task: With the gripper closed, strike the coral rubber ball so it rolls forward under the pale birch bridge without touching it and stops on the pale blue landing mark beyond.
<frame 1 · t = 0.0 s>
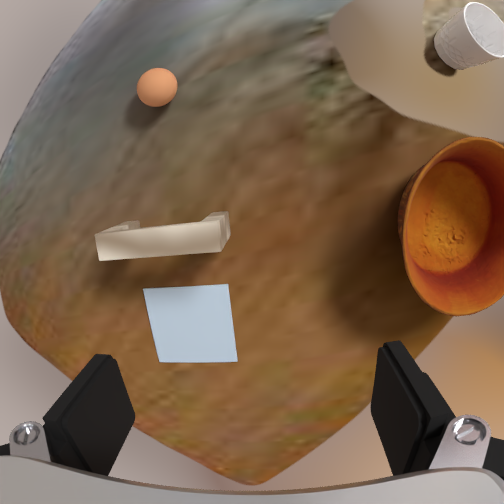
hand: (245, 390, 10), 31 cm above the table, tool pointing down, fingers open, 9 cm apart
ball: (157, 87, 34), on the table
white cup: (451, 49, 33), on the table
bowl: (440, 217, 39), on the table
landing mark: (190, 326, 44), on the table
bridge: (175, 227, 41), on the table
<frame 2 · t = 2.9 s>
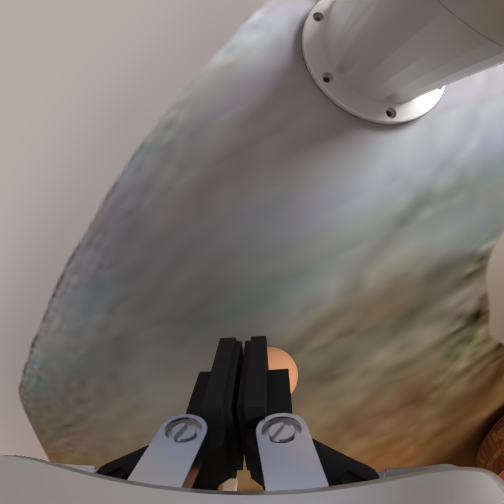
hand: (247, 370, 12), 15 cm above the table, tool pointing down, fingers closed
ball: (268, 375, 26), on the table
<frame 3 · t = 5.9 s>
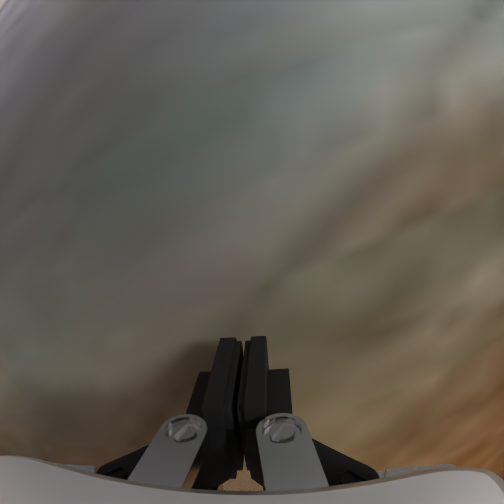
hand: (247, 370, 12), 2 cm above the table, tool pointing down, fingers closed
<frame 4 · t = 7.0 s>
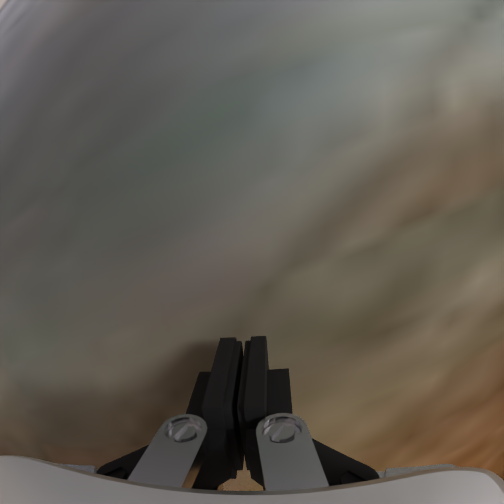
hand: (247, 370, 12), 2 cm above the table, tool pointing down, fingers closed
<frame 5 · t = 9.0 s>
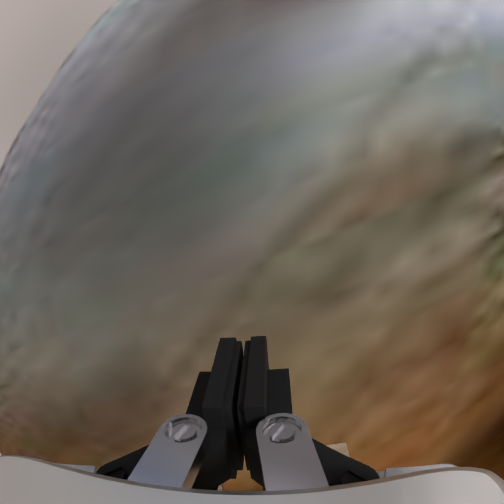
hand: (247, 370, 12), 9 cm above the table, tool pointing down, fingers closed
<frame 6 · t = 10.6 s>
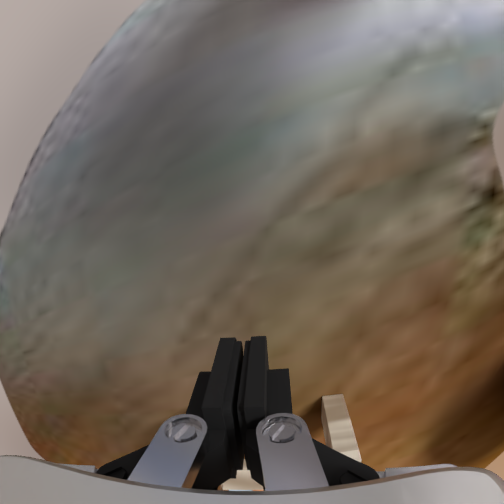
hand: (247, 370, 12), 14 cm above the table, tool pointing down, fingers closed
bridge: (270, 411, 29), on the table
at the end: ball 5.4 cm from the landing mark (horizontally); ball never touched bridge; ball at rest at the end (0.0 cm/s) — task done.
